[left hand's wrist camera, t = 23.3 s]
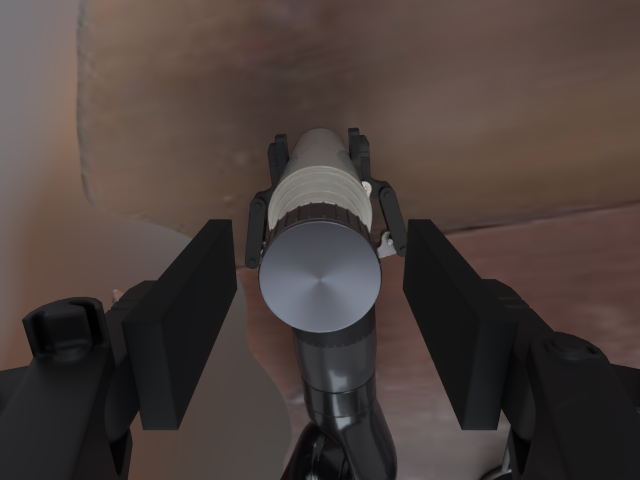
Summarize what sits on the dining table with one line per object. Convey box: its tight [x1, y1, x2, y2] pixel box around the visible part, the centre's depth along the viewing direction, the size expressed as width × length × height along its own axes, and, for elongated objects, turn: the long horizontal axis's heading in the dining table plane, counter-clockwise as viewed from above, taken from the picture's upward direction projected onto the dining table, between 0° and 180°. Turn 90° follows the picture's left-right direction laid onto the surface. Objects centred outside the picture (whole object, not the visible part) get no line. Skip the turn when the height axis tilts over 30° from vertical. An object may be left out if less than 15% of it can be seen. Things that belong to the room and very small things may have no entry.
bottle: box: [268, 128, 372, 233], centre depth 25 cm, size 5×5×25 cm
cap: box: [258, 202, 382, 332], centre depth 13 cm, size 4×4×2 cm
